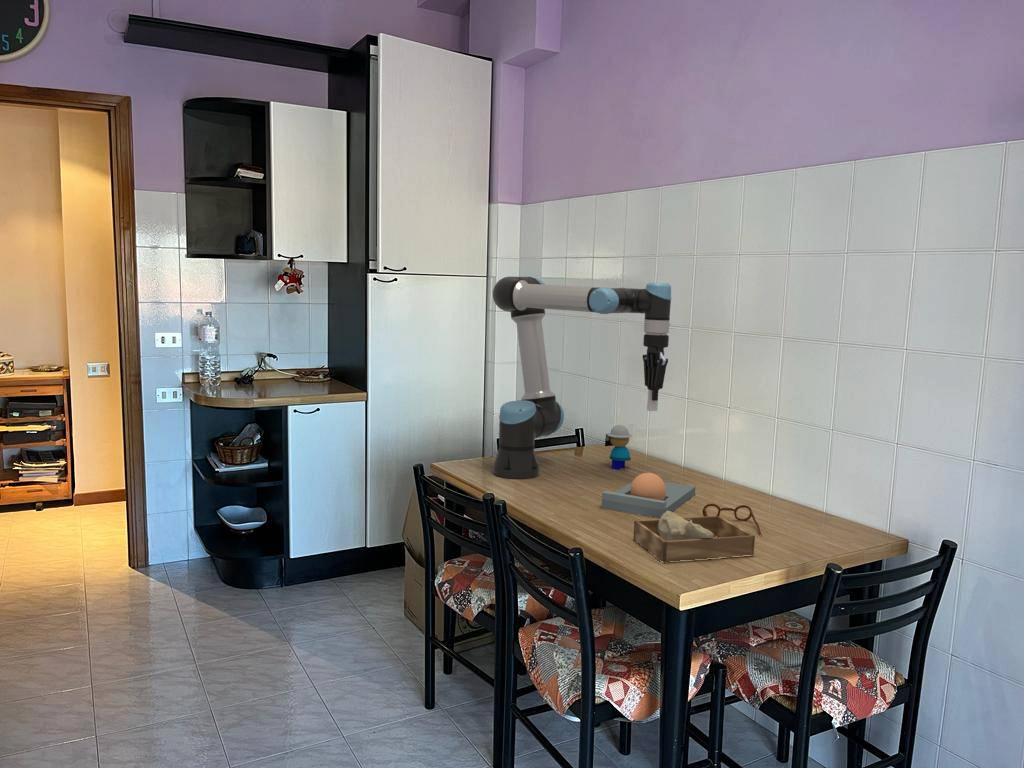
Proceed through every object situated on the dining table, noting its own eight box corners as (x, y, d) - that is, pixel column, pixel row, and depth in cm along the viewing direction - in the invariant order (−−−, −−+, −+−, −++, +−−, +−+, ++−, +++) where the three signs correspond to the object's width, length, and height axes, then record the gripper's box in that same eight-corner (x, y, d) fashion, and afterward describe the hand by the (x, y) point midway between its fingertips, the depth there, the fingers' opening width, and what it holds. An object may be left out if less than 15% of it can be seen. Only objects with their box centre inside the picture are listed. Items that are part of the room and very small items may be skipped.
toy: (612, 463, 279) (614, 421, 277) (634, 467, 273) (637, 425, 272) (600, 468, 272) (602, 424, 270) (623, 472, 267) (625, 428, 265)
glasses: (750, 522, 216) (751, 504, 215) (761, 537, 203) (763, 518, 203) (701, 519, 217) (702, 502, 216) (709, 535, 204) (711, 516, 203)
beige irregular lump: (655, 546, 201) (642, 523, 189) (671, 522, 203) (659, 498, 191) (708, 577, 192) (697, 555, 180) (724, 553, 194) (715, 529, 182)
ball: (621, 474, 226) (625, 507, 228) (642, 483, 217) (646, 517, 220) (649, 465, 230) (653, 497, 233) (671, 473, 222) (675, 506, 224)
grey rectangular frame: (638, 485, 250) (639, 471, 249) (695, 494, 241) (695, 480, 241) (601, 508, 224) (602, 492, 223) (663, 519, 215) (663, 502, 215)
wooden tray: (633, 540, 197) (634, 520, 196) (717, 534, 203) (718, 515, 203) (663, 563, 181) (664, 542, 181) (753, 556, 188) (754, 536, 187)
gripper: (677, 335, 236) (673, 414, 239) (658, 332, 248) (653, 406, 252) (654, 335, 234) (650, 414, 237) (636, 332, 246) (632, 407, 249)
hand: (652, 410), depth 244 cm, fingers closed
